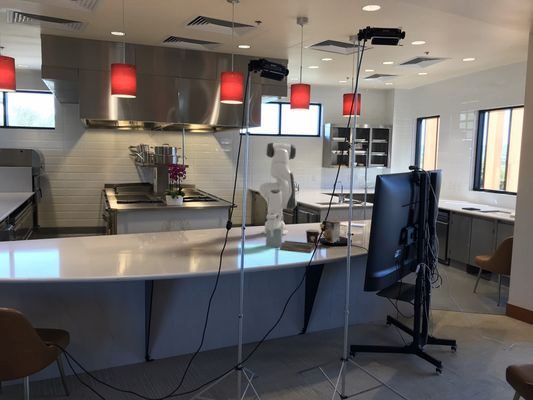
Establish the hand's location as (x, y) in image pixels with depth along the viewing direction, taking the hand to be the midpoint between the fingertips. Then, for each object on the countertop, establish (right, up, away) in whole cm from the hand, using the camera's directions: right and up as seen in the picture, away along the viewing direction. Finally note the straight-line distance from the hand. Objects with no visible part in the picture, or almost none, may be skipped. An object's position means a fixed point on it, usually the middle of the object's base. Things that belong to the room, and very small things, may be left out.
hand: (274, 235), depth 301 cm
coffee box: (+39, -7, +12) cm, 42 cm away
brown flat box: (+15, -8, -6) cm, 18 cm away
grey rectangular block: (0, -7, +1) cm, 7 cm away
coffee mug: (+27, -8, +7) cm, 29 cm away
